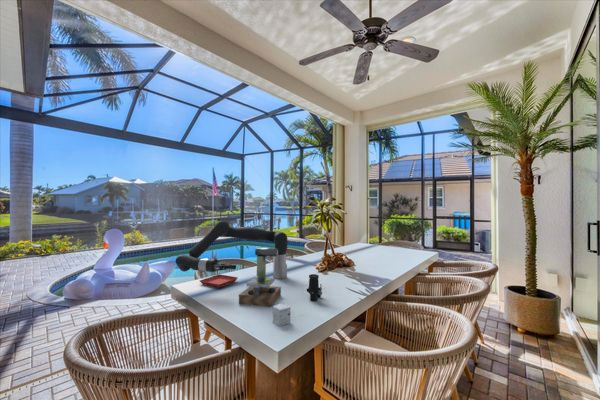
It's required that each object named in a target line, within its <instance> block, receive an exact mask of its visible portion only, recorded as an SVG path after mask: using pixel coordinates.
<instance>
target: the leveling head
mask: <svg viewBox="0 0 600 400" xmlns="http://www.w3.org/2000/svg"><path fill="white" fill-rule="evenodd" d="M254 254H255V256H256V276H254V277H253V278H251V279H249V281H247V282H246V287H247V286H248V287H250V286H254V287H259V288H261V287H266V288H268V287H269V286H271V285H272V284H273V283H274V282H275V280H276V279H275V278H273V277H266V274H267V272H266V271H267V257H273V256H274V257H277V256H278V249H276V248H275V247H273V248H272V247H255V251H254Z"/></svg>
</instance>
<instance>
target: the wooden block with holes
mask: <svg viewBox="0 0 600 400" xmlns="http://www.w3.org/2000/svg"><path fill="white" fill-rule="evenodd" d="M281 293H282V287H281V286H274V285H273V286H271V285H270V286H269V287H268V288H266V287H261V288H259V287H254V286H248V287H247V288H246V289H244V290H243V291H242V292H240V293H239V294H238V305H245V306H253V307H255V306H256V307H263V308H264V307H265V308H273V306H274V304H275V303H276V302H277V301H278V300H279V298H280V297H281V295H282V294H281Z"/></svg>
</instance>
